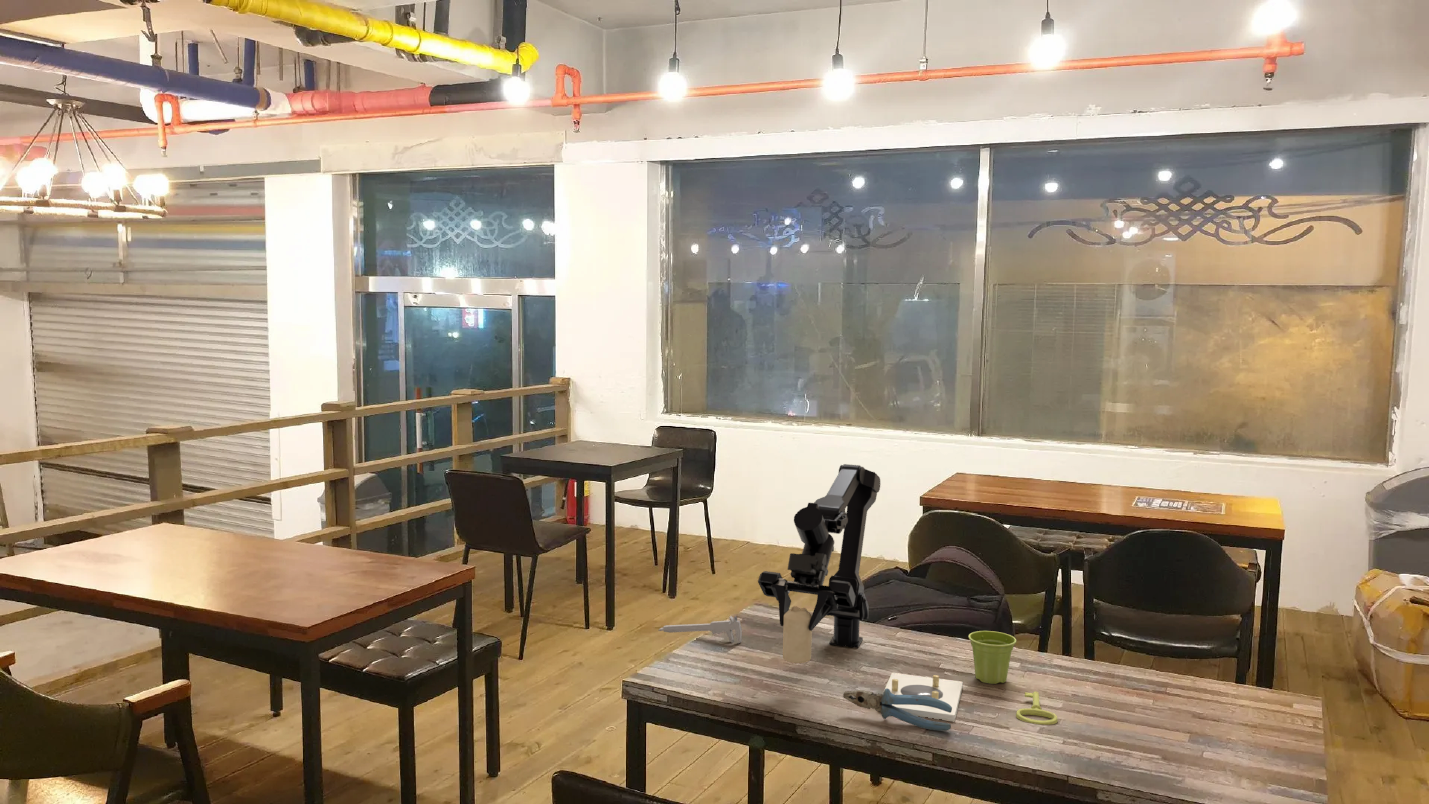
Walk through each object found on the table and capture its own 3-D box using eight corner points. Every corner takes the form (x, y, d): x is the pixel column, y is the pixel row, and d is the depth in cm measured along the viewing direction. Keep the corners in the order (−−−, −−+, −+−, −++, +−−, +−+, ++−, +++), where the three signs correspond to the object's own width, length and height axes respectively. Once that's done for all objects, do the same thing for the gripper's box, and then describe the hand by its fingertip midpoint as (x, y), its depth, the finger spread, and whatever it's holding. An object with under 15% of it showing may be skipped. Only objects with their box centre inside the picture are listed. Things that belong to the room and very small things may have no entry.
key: (1037, 701, 197) (1037, 690, 197) (1061, 727, 185) (1061, 716, 184) (1000, 700, 197) (1001, 690, 196) (1021, 727, 184) (1022, 715, 184)
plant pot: (963, 683, 204) (965, 641, 204) (970, 668, 213) (972, 628, 212) (1011, 690, 201) (1013, 647, 200) (1016, 675, 210) (1018, 634, 209)
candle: (777, 655, 199) (778, 606, 198) (802, 652, 201) (803, 603, 200) (790, 665, 194) (792, 614, 193) (816, 661, 196) (817, 611, 195)
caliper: (741, 643, 227) (742, 616, 226) (739, 645, 226) (740, 617, 226) (660, 630, 235) (660, 604, 235) (658, 631, 234) (658, 605, 234)
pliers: (841, 713, 188) (842, 682, 187) (845, 709, 190) (846, 678, 189) (949, 736, 179) (950, 703, 178) (952, 731, 181) (953, 699, 180)
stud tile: (891, 678, 206) (892, 663, 206) (962, 687, 202) (963, 671, 202) (877, 710, 189) (878, 694, 189) (954, 721, 185) (955, 704, 185)
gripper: (762, 531, 202) (739, 599, 194) (852, 541, 195) (833, 613, 186) (775, 561, 210) (754, 628, 201) (863, 572, 203) (845, 642, 194)
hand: (795, 627), depth 195 cm, fingers closed on candle, 5 cm apart
